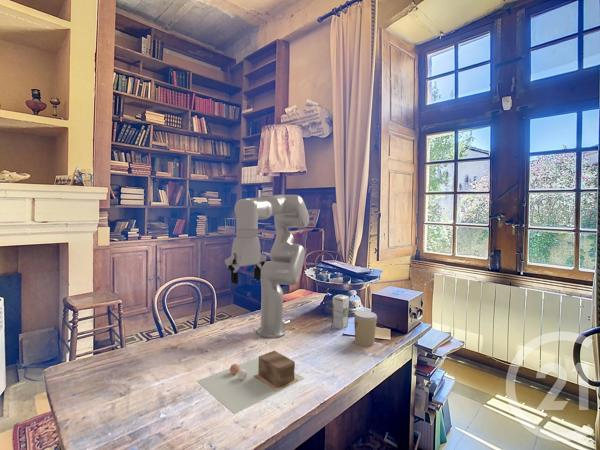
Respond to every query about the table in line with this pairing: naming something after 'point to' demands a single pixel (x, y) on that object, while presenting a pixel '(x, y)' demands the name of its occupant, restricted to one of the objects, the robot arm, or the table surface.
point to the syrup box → (340, 311)
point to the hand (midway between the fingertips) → (246, 281)
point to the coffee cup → (365, 327)
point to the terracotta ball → (234, 369)
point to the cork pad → (272, 384)
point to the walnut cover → (276, 368)
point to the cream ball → (242, 374)
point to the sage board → (239, 387)
